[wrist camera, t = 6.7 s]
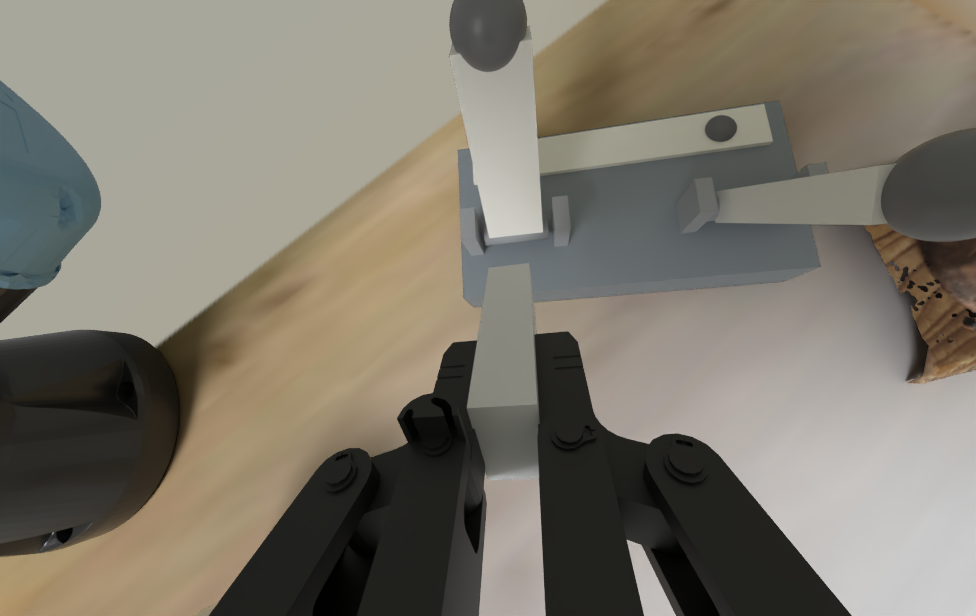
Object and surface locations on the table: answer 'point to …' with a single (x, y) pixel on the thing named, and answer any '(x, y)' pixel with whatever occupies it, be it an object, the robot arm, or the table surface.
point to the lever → (875, 194)
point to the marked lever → (499, 114)
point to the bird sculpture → (963, 284)
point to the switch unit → (648, 209)
